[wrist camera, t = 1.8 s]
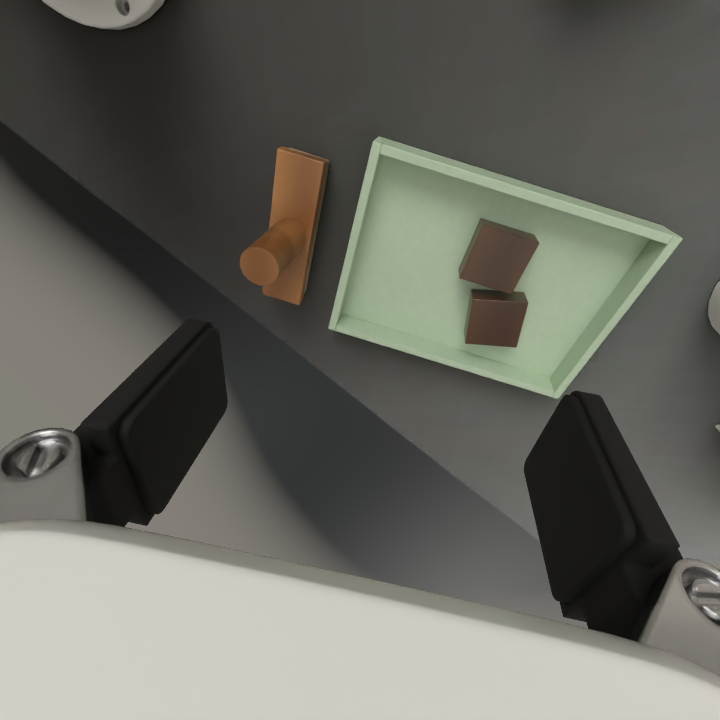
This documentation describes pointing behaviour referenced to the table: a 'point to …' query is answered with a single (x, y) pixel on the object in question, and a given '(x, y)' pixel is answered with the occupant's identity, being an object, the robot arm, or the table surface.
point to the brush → (289, 227)
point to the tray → (451, 294)
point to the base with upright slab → (715, 308)
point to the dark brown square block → (497, 256)
